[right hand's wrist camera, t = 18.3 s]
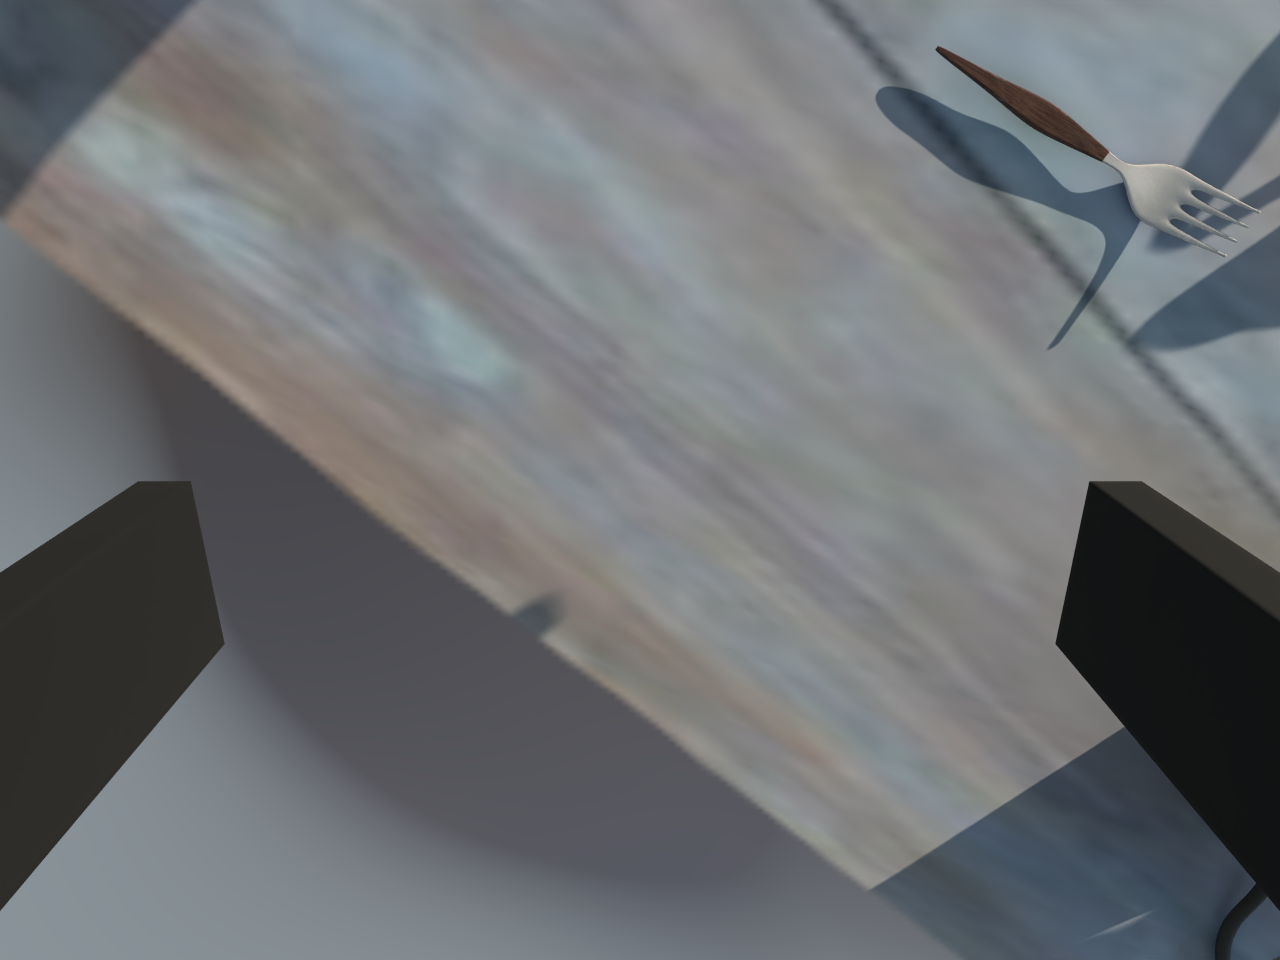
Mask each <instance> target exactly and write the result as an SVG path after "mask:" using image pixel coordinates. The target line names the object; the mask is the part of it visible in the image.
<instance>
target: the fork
mask: <svg viewBox="0 0 1280 960" xmlns="http://www.w3.org/2000/svg"><path fill="white" fill-rule="evenodd" d="M936 51H937V52H938V53H939V54H940V55H942V56H943V57H944V58H945V59H946V60H948V61H949V62H950V63H951V64H953V65H954V66H955V67H957V68H958V69H959V70H960V71H962V72H963V73H964V74H966V75H967V76H968V77H969V78H971V79H972V80H973V81H975V82H976V83H977V84H978V85H980V86H981V87H982V88H983V89H985V90H986V91H987V92H988V93H990V94H991V95H992V96H993V97H994V98H996V99H997V100H998V101H999V102H1000V103H1002V104H1003V105H1004V106H1005V107H1006V108H1007V109H1009V110H1010V111H1011V112H1012V113H1013V114H1015V115H1016V116H1017V117H1018V118H1020V119H1021V120H1022V121H1023V122H1025V123H1026V124H1028V125H1029V126H1030V127H1032V128H1034V129H1035V130H1037V131H1039V132H1040V133H1042V134H1044V135H1046V136H1048V137H1050V138H1052V139H1054V140H1056V141H1058V142H1060V143H1062V144H1064V145H1067V146H1069V147H1071V148H1073V149H1075V150H1077V151H1079V152H1082V153H1084V154H1086V155H1088V156H1090V157H1092V158H1094V159H1097V160H1099V161H1101V162H1103V163H1105V164H1107V165H1109V166H1110V167H1112V168H1114V169H1115V170H1116V171H1117V172H1118V173H1119V174H1120V175H1121V177H1122V179H1123V182H1124V185H1125V189H1126V193H1127V197H1128V200H1129V203H1130V206H1131V208H1132V210H1133V212H1134V213H1135V215H1136V216H1137V217H1138V218H1139V219H1140V220H1141V221H1143V222H1144V223H1146V224H1148V225H1149V226H1152V227H1154V228H1156V229H1159V230H1161V231H1164V232H1166V233H1168V234H1171V235H1173V236H1175V237H1177V238H1180V239H1182V240H1184V241H1187V242H1189V243H1191V244H1194V245H1196V246H1199V247H1201V248H1204V249H1206V250H1209V251H1211V252H1214V253H1216V254H1219V255H1221V256H1223V257H1226V256H1227V255H1226V254H1223V253H1221V252H1219V251H1217V250H1215V249H1214V248H1212V247H1210V246H1208V245H1206V244H1205V243H1203V242H1201V241H1199V240H1197V239H1196V238H1194V237H1192V236H1190V235H1188V234H1187V233H1185V232H1183V231H1181V230H1180V229H1178V228H1176V227H1175V226H1173V225H1172V224H1171V222H1170V220H1171V219H1178V220H1181V221H1183V222H1186V223H1188V224H1191V225H1193V226H1195V227H1198V228H1200V229H1203V230H1205V231H1208V232H1210V233H1213V234H1215V235H1218V236H1220V237H1223V238H1225V239H1228V240H1231V241H1233V242H1238V241H1236V240H1235V239H1233V238H1231V237H1229V236H1227V235H1225V234H1223V233H1222V232H1220V231H1218V230H1216V229H1214V228H1213V227H1211V226H1209V225H1207V224H1205V223H1203V222H1202V221H1200V220H1198V219H1196V218H1194V217H1192V216H1191V215H1189V214H1187V213H1186V212H1184V211H1183V210H1182V209H1181V206H1182V205H1190V206H1192V207H1195V208H1198V209H1200V210H1202V211H1205V212H1207V213H1210V214H1212V215H1215V216H1217V217H1220V218H1222V219H1225V220H1227V221H1230V222H1233V223H1235V224H1238V225H1241V226H1243V227H1246V228H1249V227H1248V226H1247V225H1245V224H1243V223H1241V222H1239V221H1237V220H1236V219H1234V218H1232V217H1230V216H1228V215H1226V214H1224V213H1223V212H1221V211H1219V210H1217V209H1215V208H1213V207H1212V206H1210V205H1208V204H1206V203H1204V202H1202V201H1201V200H1199V199H1197V198H1196V197H1194V196H1193V195H1192V191H1193V190H1199V191H1202V192H1205V193H1207V194H1210V195H1212V196H1215V197H1217V198H1220V199H1222V200H1225V201H1227V202H1230V203H1232V204H1235V205H1238V206H1240V207H1243V208H1246V209H1248V210H1251V211H1253V212H1256V213H1258V214H1259V213H1260V211H1259V210H1256V209H1254V208H1252V207H1250V206H1248V205H1246V204H1244V203H1243V202H1241V201H1239V200H1237V199H1235V198H1233V197H1231V196H1229V195H1228V194H1226V193H1224V192H1222V191H1220V190H1218V189H1216V188H1214V187H1212V186H1211V185H1209V184H1207V183H1205V182H1203V181H1202V180H1200V179H1198V178H1197V177H1195V176H1194V175H1192V174H1190V173H1189V172H1187V171H1185V170H1183V169H1181V168H1178V167H1176V166H1172V165H1167V164H1147V165H1130V164H1127V163H1124V162H1123V161H1121V160H1119V159H1118V158H1117V157H1115V156H1114V155H1113V154H1112V153H1111V152H1109V151H1108V150H1107V149H1106V148H1105V147H1104V146H1102V145H1101V144H1100V143H1099V142H1098V141H1097V140H1096V139H1094V138H1093V137H1092V136H1091V135H1090V134H1089V133H1088V132H1086V131H1085V130H1084V129H1083V128H1082V127H1081V126H1080V125H1078V124H1077V123H1076V122H1075V121H1074V120H1073V119H1071V118H1070V117H1069V116H1068V115H1067V114H1065V113H1064V112H1063V111H1061V110H1060V109H1059V108H1057V107H1056V106H1054V105H1053V104H1051V103H1050V102H1048V101H1046V100H1045V99H1043V98H1041V97H1039V96H1037V95H1035V94H1033V93H1031V92H1029V91H1027V90H1025V89H1023V88H1021V87H1019V86H1017V85H1014V84H1012V83H1010V82H1008V81H1006V80H1004V79H1002V78H1000V77H998V76H996V75H994V74H992V73H990V72H988V71H986V70H984V69H982V68H980V67H978V66H977V65H975V64H973V63H971V62H969V61H967V60H965V59H963V58H961V57H959V56H957V55H956V54H954V53H952V52H950V51H948V50H946V49H944V48H941V47H939V46H938V47H937V48H936Z"/></svg>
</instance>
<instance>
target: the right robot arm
mask: <svg viewBox="0 0 1280 960" xmlns="http://www.w3.org/2000/svg"><path fill="white" fill-rule="evenodd" d="M223 645H224V639H223V634H222V629H221V625H220V620H219V615H218V610H217V605H216V601H215V596H214V591H213V586H212V582H211V577H210V572H209V567H208V562H207V558H206V553H205V548H204V543H203V538H202V534H201V529H200V524H199V519H198V514H197V510H196V505H195V500H194V495H193V490H192V486H191V482H190V481H138V482H137V483H135V484H134V485H132V486H131V487H129V488H128V489H126V490H125V491H123V492H122V493H120V494H118V495H117V496H115V497H114V498H113V499H111V500H109V501H108V502H106V503H105V504H103V505H102V506H100V507H99V508H97V509H96V510H94V511H93V512H91V513H90V514H88V515H87V516H85V517H84V518H82V519H81V520H79V521H78V522H76V523H75V524H73V525H72V526H70V527H69V528H67V529H66V530H64V531H63V532H61V533H60V534H58V535H57V536H55V537H53V538H52V539H50V540H49V541H47V542H46V543H44V544H43V545H41V546H40V547H38V548H37V549H35V550H34V551H32V552H31V553H29V554H28V555H26V556H25V557H23V558H22V559H20V560H19V561H17V562H16V563H14V564H13V565H11V566H10V567H8V568H7V569H5V570H4V571H2V572H1V573H0V910H1V909H2V908H3V907H4V906H5V904H6V903H7V902H8V901H9V900H10V898H11V897H12V896H13V895H14V894H15V893H16V891H17V890H18V889H19V888H20V887H21V885H22V884H23V883H24V882H25V881H26V880H27V878H28V877H29V876H30V875H31V874H32V872H33V871H34V870H35V869H36V868H37V866H38V865H39V864H40V863H41V862H42V860H43V859H44V858H45V857H46V856H47V855H48V853H49V852H50V851H51V850H52V848H53V847H54V846H55V845H56V844H57V843H58V841H59V840H60V839H61V838H62V837H63V835H64V834H65V833H66V832H67V831H68V830H69V828H70V827H71V826H72V825H73V824H74V822H75V821H76V820H77V819H78V818H79V816H80V815H81V814H82V813H83V812H84V810H85V809H86V808H87V807H88V806H89V805H90V803H91V802H92V801H93V800H94V799H95V797H96V796H97V795H98V794H99V793H100V791H101V790H102V789H103V788H104V787H105V785H106V784H107V783H108V782H109V781H110V780H111V778H112V777H113V776H114V775H115V774H116V772H117V771H118V770H119V769H120V768H121V766H122V765H123V764H124V763H125V762H126V760H127V759H128V758H129V757H130V756H131V755H132V753H133V752H134V751H135V750H136V749H137V747H138V746H139V745H140V744H141V743H142V741H143V740H144V739H145V738H146V737H147V735H148V734H149V733H150V732H151V731H152V730H153V728H154V727H155V726H156V725H157V724H158V722H159V721H160V720H161V719H162V718H163V716H164V715H165V714H166V713H167V712H168V710H169V709H170V708H171V707H172V706H173V705H174V703H175V702H176V701H177V700H178V699H179V697H180V696H181V695H182V694H183V693H184V692H185V690H186V689H187V688H188V687H189V686H190V684H191V683H192V682H193V681H194V680H195V678H196V677H197V676H198V675H199V674H200V672H201V671H202V670H203V669H204V668H205V667H206V665H207V664H208V663H209V662H210V661H211V659H212V658H213V657H214V656H215V655H216V653H217V652H218V651H219V650H220V649H221V647H222V646H223ZM1056 645H1057V646H1058V647H1059V649H1060V650H1061V651H1062V652H1063V653H1064V655H1065V656H1066V657H1067V658H1068V659H1069V661H1070V662H1071V663H1072V664H1073V665H1074V667H1075V668H1076V669H1077V670H1078V671H1079V672H1080V674H1081V675H1082V676H1083V677H1084V678H1085V680H1086V681H1087V682H1088V683H1089V684H1090V686H1091V687H1092V688H1093V689H1094V690H1095V692H1096V693H1097V694H1098V695H1099V696H1100V697H1101V699H1102V700H1103V701H1104V702H1105V703H1106V705H1107V706H1108V707H1109V708H1110V709H1111V711H1112V712H1113V713H1114V714H1115V715H1116V716H1117V718H1118V719H1119V720H1120V721H1121V722H1122V724H1123V725H1124V726H1125V727H1126V728H1127V730H1128V731H1129V732H1130V733H1131V734H1132V736H1133V737H1134V738H1135V739H1136V740H1137V741H1138V743H1139V744H1140V745H1141V746H1142V747H1143V749H1144V750H1145V751H1146V752H1147V753H1148V755H1149V756H1150V757H1151V758H1152V759H1153V761H1154V762H1155V763H1156V764H1157V765H1158V766H1159V768H1160V769H1161V770H1162V771H1163V772H1164V774H1165V775H1166V776H1167V777H1168V778H1169V780H1170V781H1171V782H1172V783H1173V784H1174V786H1175V787H1176V788H1177V789H1178V790H1179V791H1180V793H1181V794H1182V795H1183V796H1184V797H1185V799H1186V800H1187V801H1188V802H1189V803H1190V805H1191V806H1192V807H1193V808H1194V809H1195V810H1196V812H1197V813H1198V814H1199V815H1200V816H1201V818H1202V819H1203V820H1204V821H1205V822H1206V824H1207V825H1208V826H1209V827H1210V828H1211V830H1212V831H1213V832H1214V833H1215V834H1216V835H1217V837H1218V838H1219V839H1220V840H1221V841H1222V843H1223V844H1224V845H1225V846H1226V847H1227V849H1228V850H1229V851H1230V852H1231V853H1232V855H1233V856H1234V857H1235V858H1236V859H1237V860H1238V862H1239V863H1240V864H1241V865H1242V866H1243V868H1244V869H1245V870H1246V871H1247V872H1248V874H1249V875H1250V876H1251V877H1252V878H1253V880H1254V881H1255V882H1256V884H1255V886H1254V887H1253V888H1252V889H1251V890H1250V892H1249V893H1248V894H1247V895H1246V896H1245V897H1244V898H1243V899H1242V900H1241V901H1240V902H1239V903H1238V904H1237V905H1236V906H1235V907H1234V908H1233V909H1232V910H1231V911H1230V913H1229V914H1228V915H1227V916H1226V918H1225V919H1224V921H1223V923H1222V925H1221V927H1220V930H1219V932H1218V935H1217V939H1216V947H1215V960H1230V951H1231V945H1232V941H1233V938H1234V936H1235V933H1236V931H1237V929H1238V928H1239V926H1240V925H1241V923H1242V922H1243V921H1244V920H1245V919H1246V918H1247V917H1248V916H1249V915H1250V914H1251V913H1252V912H1253V911H1254V910H1255V909H1256V908H1257V907H1258V906H1259V905H1260V904H1261V903H1262V902H1263V901H1264V900H1265V898H1266V897H1267V896H1268V897H1269V899H1270V900H1271V901H1272V902H1273V903H1274V904H1275V906H1276V907H1277V908H1278V909H1279V910H1280V573H1279V572H1278V571H1276V570H1275V569H1273V568H1272V567H1270V566H1269V565H1267V564H1266V563H1264V562H1263V561H1261V560H1260V559H1258V558H1257V557H1255V556H1254V555H1252V554H1251V553H1249V552H1248V551H1246V550H1245V549H1243V548H1242V547H1240V546H1239V545H1237V544H1236V543H1234V542H1233V541H1231V540H1230V539H1228V538H1227V537H1225V536H1224V535H1222V534H1220V533H1219V532H1217V531H1216V530H1214V529H1213V528H1211V527H1210V526H1208V525H1207V524H1205V523H1204V522H1202V521H1201V520H1199V519H1198V518H1196V517H1195V516H1193V515H1192V514H1190V513H1189V512H1187V511H1186V510H1184V509H1183V508H1181V507H1180V506H1178V505H1177V504H1175V503H1174V502H1172V501H1171V500H1169V499H1168V498H1166V497H1165V496H1163V495H1162V494H1160V493H1159V492H1157V491H1155V490H1154V489H1152V488H1151V487H1149V486H1148V485H1146V484H1145V483H1143V482H1142V481H1089V486H1088V490H1087V495H1086V500H1085V505H1084V510H1083V514H1082V519H1081V524H1080V529H1079V534H1078V538H1077V543H1076V548H1075V553H1074V558H1073V562H1072V567H1071V572H1070V577H1069V581H1068V586H1067V591H1066V596H1065V601H1064V605H1063V610H1062V615H1061V620H1060V625H1059V629H1058V634H1057V639H1056ZM1273 960H1280V956H1279V957H1277V958H1275V959H1273Z"/></svg>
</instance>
